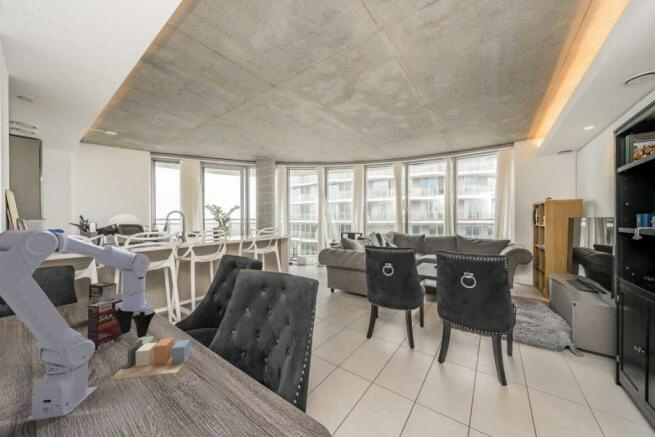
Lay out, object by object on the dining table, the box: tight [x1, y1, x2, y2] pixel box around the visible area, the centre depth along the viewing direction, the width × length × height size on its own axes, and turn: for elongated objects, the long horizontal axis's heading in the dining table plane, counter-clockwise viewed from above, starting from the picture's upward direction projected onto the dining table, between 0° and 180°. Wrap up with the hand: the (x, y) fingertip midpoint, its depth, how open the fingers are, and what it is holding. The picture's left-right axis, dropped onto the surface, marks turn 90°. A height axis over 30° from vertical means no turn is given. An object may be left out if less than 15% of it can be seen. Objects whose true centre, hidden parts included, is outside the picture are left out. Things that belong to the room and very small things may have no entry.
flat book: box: [136, 335, 155, 346], centre depth 91 cm, size 6×4×2 cm
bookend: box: [121, 339, 142, 369], centre depth 78 cm, size 6×2×6 cm, turn 11°
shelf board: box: [108, 350, 192, 381], centre depth 76 cm, size 12×18×1 cm
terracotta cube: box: [154, 337, 175, 364], centre depth 79 cm, size 5×4×6 cm
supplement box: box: [86, 298, 123, 354], centre depth 89 cm, size 9×5×16 cm, turn 168°
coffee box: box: [88, 281, 118, 306], centre depth 116 cm, size 9×6×16 cm
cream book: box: [136, 342, 158, 366], centre depth 78 cm, size 5×4×4 cm
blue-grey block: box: [172, 339, 191, 362], centre depth 80 cm, size 5×4×4 cm
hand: (133, 334), depth 78 cm, fingers open, 7 cm apart
